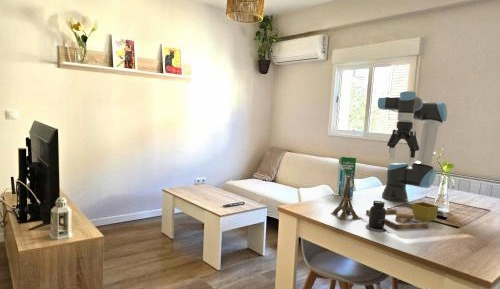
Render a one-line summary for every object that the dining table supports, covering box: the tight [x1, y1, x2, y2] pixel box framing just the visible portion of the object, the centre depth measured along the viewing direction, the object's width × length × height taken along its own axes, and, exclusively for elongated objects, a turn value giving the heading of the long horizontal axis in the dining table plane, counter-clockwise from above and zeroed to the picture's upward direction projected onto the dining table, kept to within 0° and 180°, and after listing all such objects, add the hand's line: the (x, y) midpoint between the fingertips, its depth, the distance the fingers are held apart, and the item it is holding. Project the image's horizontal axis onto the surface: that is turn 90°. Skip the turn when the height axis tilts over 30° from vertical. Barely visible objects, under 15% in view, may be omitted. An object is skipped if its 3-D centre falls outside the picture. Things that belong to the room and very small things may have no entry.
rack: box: [365, 208, 430, 231], centre depth 159 cm, size 18×22×4 cm
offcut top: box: [395, 210, 415, 220], centre depth 160 cm, size 4×8×2 cm, turn 69°
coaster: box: [365, 223, 388, 233], centre depth 150 cm, size 9×9×1 cm
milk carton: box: [335, 155, 357, 197], centre depth 214 cm, size 9×9×25 cm
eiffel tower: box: [330, 174, 361, 221], centre depth 165 cm, size 11×11×25 cm
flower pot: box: [411, 201, 440, 223], centre depth 164 cm, size 9×9×9 cm
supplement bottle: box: [367, 200, 387, 229], centre depth 150 cm, size 7×7×12 cm
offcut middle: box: [394, 216, 411, 224], centre depth 160 cm, size 4×7×2 cm, turn 127°
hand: (400, 161), depth 171 cm, fingers open, 13 cm apart
